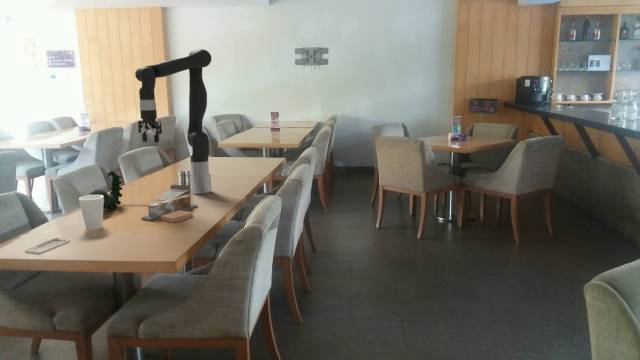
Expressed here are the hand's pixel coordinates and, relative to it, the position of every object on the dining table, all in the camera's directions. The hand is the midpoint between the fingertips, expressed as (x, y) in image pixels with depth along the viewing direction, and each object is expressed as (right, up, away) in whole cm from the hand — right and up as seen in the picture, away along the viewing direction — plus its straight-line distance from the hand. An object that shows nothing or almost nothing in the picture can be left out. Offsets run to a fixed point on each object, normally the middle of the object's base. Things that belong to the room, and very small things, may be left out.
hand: (150, 142), depth 252 cm
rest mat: (+15, -34, -17) cm, 40 cm away
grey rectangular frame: (-18, -44, -61) cm, 77 cm away
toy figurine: (-18, -33, -11) cm, 39 cm away
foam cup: (-11, -39, -38) cm, 55 cm away
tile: (+23, -34, -21) cm, 46 cm away
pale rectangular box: (+15, -33, -17) cm, 40 cm away
